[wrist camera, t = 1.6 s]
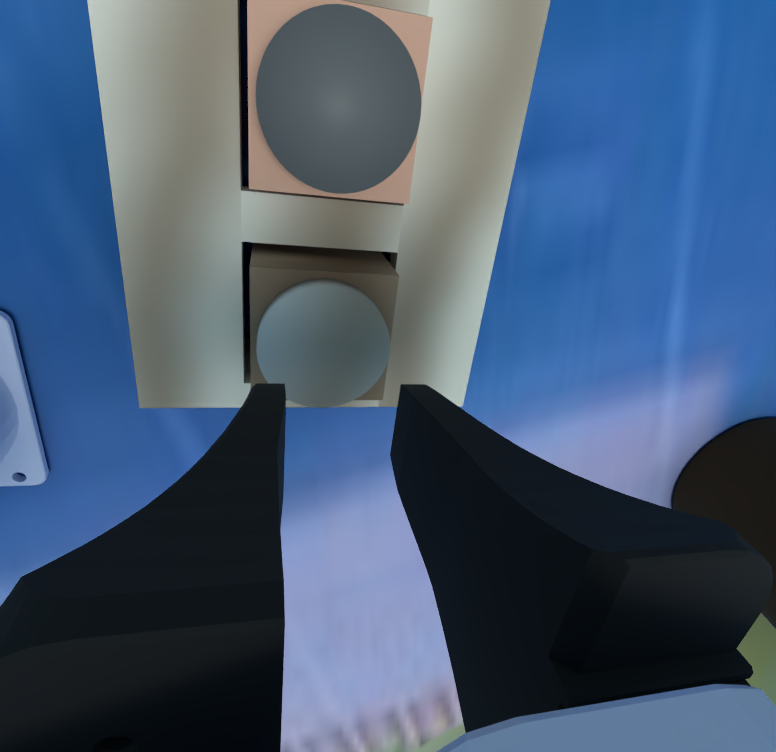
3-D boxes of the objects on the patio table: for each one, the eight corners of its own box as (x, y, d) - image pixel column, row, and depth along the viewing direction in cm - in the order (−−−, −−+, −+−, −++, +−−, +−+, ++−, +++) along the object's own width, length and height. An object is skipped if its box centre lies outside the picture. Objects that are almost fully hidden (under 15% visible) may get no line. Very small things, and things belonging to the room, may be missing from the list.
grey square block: (161, 358, 21) (139, 407, 17) (85, -410, 12) (6, -628, 8) (434, 362, 23) (462, 406, 20) (544, -252, 14) (629, -365, 11)
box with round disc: (253, 357, 19) (249, 413, 15) (253, 240, 17) (248, 275, 13) (367, 359, 20) (387, 412, 16) (379, 249, 18) (405, 283, 14)
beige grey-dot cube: (252, 175, 16) (247, 193, 12) (251, 7, 14) (245, -27, 10) (386, 188, 17) (415, 209, 13) (403, 34, 15) (442, 12, 11)
